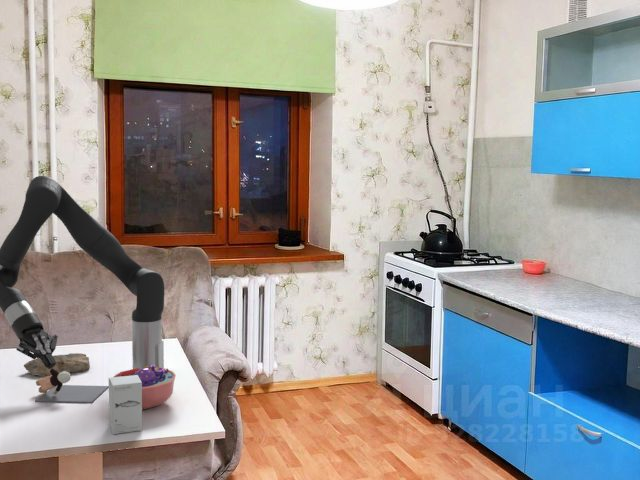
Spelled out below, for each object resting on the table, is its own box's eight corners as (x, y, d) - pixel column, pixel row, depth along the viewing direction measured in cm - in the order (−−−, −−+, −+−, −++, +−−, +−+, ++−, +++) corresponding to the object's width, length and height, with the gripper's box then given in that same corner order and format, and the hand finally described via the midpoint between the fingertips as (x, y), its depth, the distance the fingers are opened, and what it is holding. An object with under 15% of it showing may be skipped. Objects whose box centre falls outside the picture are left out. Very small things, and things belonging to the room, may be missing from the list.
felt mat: (108, 387, 201) (108, 386, 201) (92, 403, 187) (91, 401, 187) (56, 386, 202) (56, 384, 202) (35, 401, 188) (35, 400, 188)
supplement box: (112, 435, 165) (111, 385, 164) (108, 425, 172) (107, 376, 170) (143, 431, 168) (142, 382, 167) (138, 421, 175) (137, 373, 173)
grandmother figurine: (52, 392, 197) (79, 384, 191) (41, 399, 194) (69, 391, 188) (40, 369, 196) (66, 360, 190) (29, 375, 193) (56, 367, 187)
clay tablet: (27, 381, 207) (94, 371, 218) (26, 365, 207) (93, 356, 217) (21, 370, 219) (84, 361, 230) (20, 355, 219) (84, 347, 229)
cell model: (177, 392, 198) (177, 354, 197) (174, 416, 178) (174, 374, 177) (117, 394, 195) (117, 356, 194) (108, 419, 175) (107, 377, 174)
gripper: (38, 324, 204) (65, 369, 199) (-3, 332, 193) (25, 380, 187) (48, 308, 201) (77, 353, 195) (7, 315, 190) (37, 363, 184)
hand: (52, 366), depth 191 cm, fingers closed
